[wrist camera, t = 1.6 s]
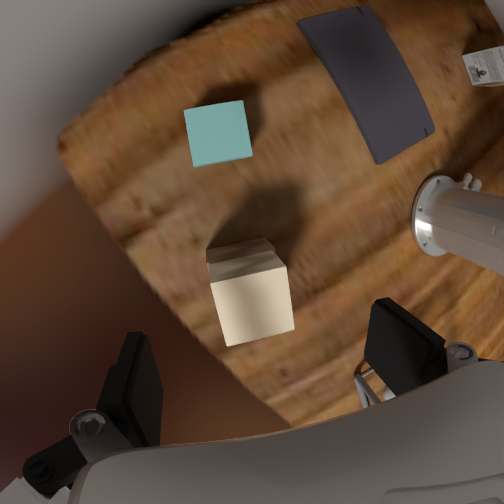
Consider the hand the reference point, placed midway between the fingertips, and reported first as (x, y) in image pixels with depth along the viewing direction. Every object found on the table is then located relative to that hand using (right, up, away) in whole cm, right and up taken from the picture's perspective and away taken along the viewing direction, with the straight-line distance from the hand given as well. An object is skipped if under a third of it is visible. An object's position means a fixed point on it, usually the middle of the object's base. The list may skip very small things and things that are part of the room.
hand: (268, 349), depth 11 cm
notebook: (+15, +27, +20) cm, 37 cm away
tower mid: (-1, 0, +19) cm, 19 cm away
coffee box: (+42, +38, +21) cm, 60 cm away
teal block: (-5, +16, +19) cm, 25 cm away
